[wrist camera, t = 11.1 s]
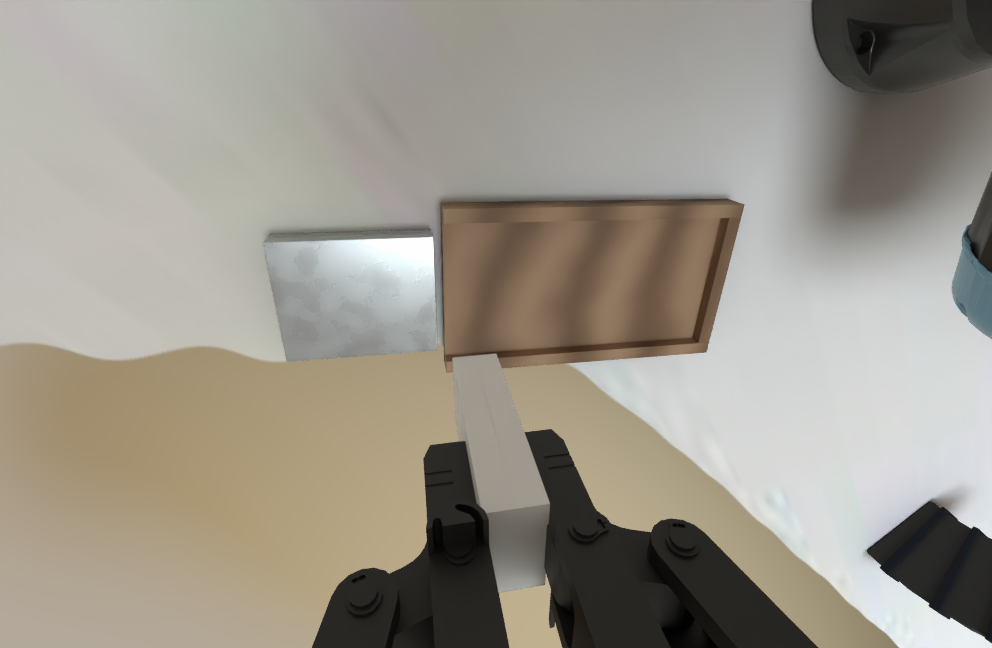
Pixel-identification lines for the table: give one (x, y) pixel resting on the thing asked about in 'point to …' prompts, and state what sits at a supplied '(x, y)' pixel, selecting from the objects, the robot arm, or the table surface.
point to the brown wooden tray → (583, 278)
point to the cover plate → (353, 292)
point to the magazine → (942, 565)
